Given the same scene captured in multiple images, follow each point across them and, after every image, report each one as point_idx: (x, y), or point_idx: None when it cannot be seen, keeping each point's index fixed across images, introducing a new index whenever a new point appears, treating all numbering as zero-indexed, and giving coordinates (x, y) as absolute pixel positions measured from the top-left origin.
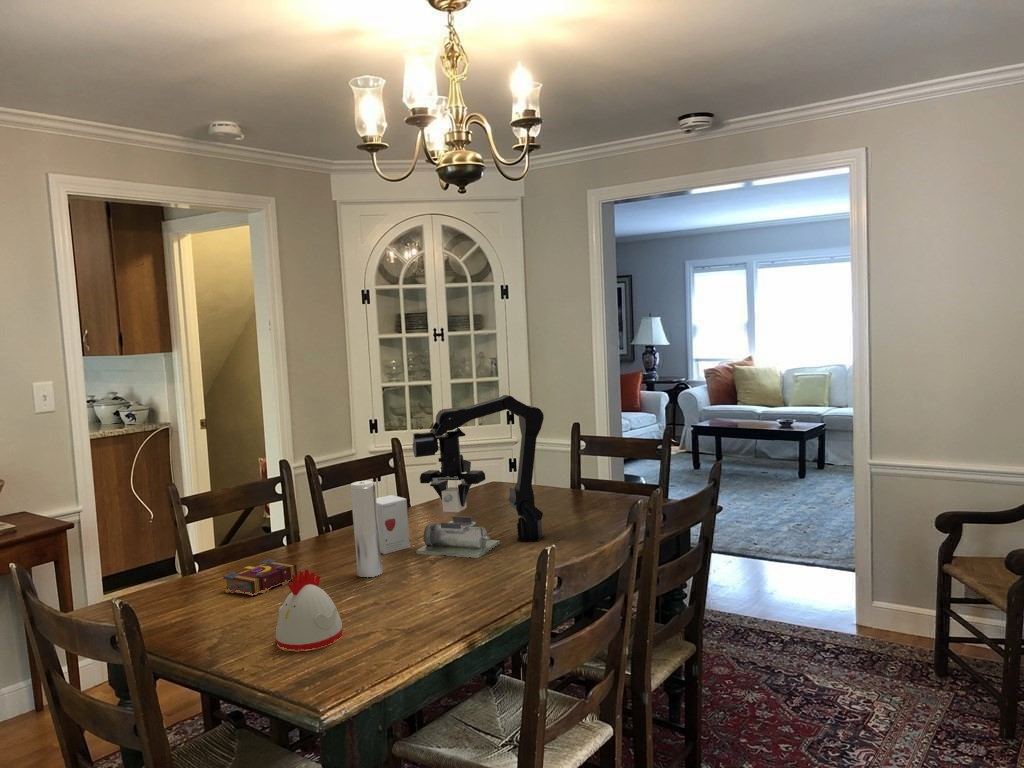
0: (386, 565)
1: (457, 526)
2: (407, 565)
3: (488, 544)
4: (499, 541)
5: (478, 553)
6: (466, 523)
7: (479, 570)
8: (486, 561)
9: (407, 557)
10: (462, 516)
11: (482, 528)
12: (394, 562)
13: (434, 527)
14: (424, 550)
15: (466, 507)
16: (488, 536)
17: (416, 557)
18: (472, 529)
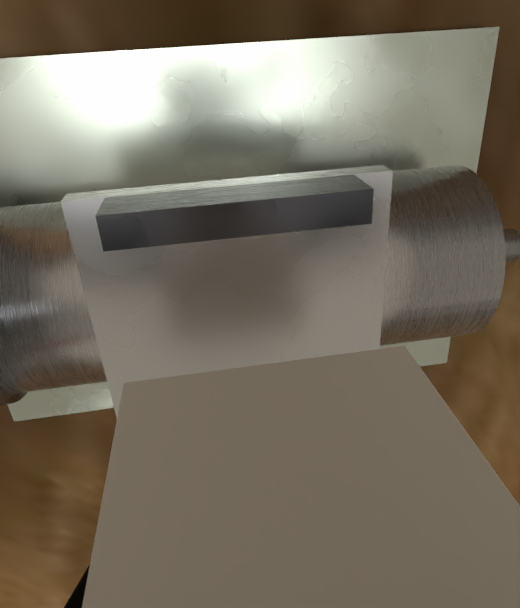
0: (28, 568)
1: None
2: None
3: (441, 163)
4: (494, 33)
5: (440, 347)
6: (322, 262)
7: (496, 470)
8: (494, 375)
9: (25, 465)
10: (231, 203)
11: (499, 269)
12: (27, 533)
13: (14, 381)
14: (70, 407)
15: (405, 351)
16: (516, 255)
17: (77, 449)
18: (421, 328)
